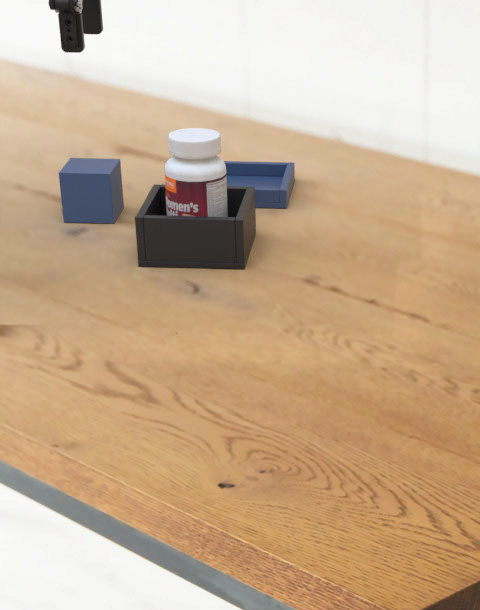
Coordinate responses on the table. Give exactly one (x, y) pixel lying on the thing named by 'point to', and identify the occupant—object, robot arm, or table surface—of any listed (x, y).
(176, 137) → the pill bottle
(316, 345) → the table surface
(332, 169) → the table surface
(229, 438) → the table surface
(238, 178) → the blue tray
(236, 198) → the charcoal bin
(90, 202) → the blue block
